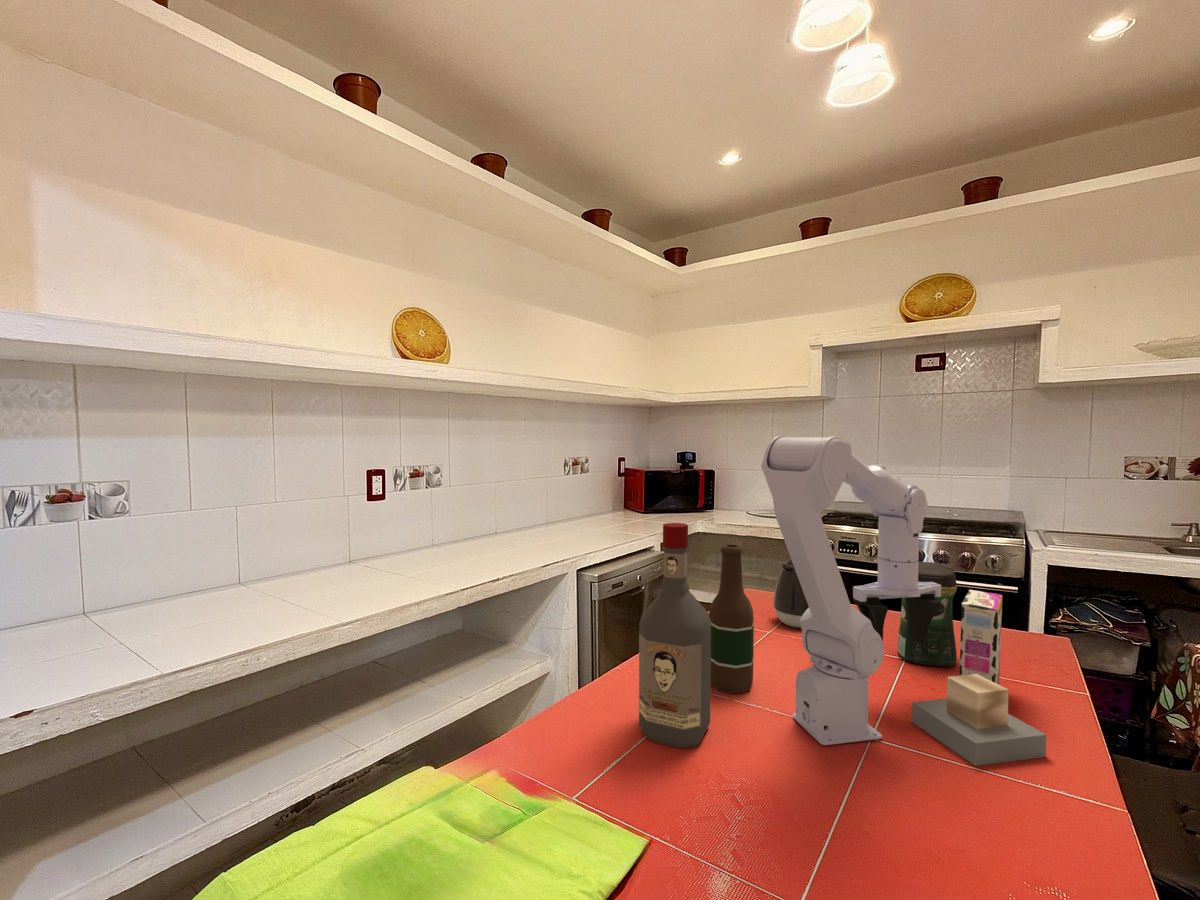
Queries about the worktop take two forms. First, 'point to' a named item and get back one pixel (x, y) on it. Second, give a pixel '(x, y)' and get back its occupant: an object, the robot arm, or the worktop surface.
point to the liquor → (675, 654)
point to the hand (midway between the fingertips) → (896, 642)
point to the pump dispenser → (789, 596)
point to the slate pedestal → (979, 735)
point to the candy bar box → (981, 635)
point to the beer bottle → (731, 628)
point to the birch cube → (977, 701)
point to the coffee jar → (932, 621)
